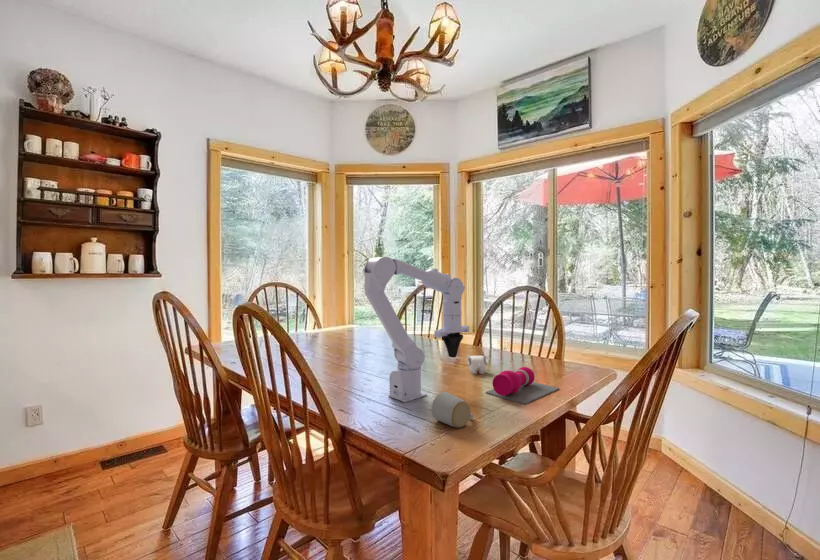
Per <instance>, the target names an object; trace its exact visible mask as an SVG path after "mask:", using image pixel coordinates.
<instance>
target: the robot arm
mask: <svg viewBox="0 0 820 560" xmlns="http://www.w3.org/2000/svg"><path fill="white" fill-rule="evenodd" d="M362 271H363V275H364V294H365V296H366V297H367V300H368V301H369V303H370V305H371V308H372V309H373V311H374V312H375V314H376V316H377V317H378V319H379V321H380V323H381V324H382V326H383V328H384V329H385V332H386V334H387V335H388V337H389V338H390V340H391V343H392V344H391V347H392V348H393V352H394V358H395V360H396V361H397V367H396V368H395V369H394V370H392V371H391V372H390V374H389V393H388V394H387V396H388V397H390V398H393V399H395V400H397V401H400V402H404V403H407V402H410V401H412V400H416V399H419V398H423V397H425V396H428V393H426V392H423V391H422V366H423V364H424V363H425V352H424V351H423V349H421V348H419V346H417V344H416V342H414V341H413V339H412V338H411V337H410V336H409V335H408V333H407V331H406V329H405V328H404V325H403V324H402V322H401V320H400V318H399V316H398V315H397V313H396V311H395V309H394V308H393V306H392V304H391V302H390V300H389V298H388V296H387V295H386V293H385V290H386V287H387V285H388V283H389V281H390V280H391V279H392V277H393V276H394V275H403V276H406V277H410V278H413V279H416V280H418V281H421V283H422V285H423V286H424V287H425V288H428V289H432V290H434V291H437V292H440V293H441V294H442V305H443V306H442V307H443V308H442V310H443V311H442V312H443V313H442V315H443V317H442V318H443V319H442V320H443V321H442V325H443V326H442V327H441V328H439V329H437V330H434V334H433V335H434V336H433V337H434V338H437V339H439V338H441V339H442V341H443V342H444V344H445V348H446V351H447V355H448V357H450V358H456V357H457V356H458V351H459V348H460V344H461V342H462V340H463V338H464V335H463V334H462V333H469V332H470V326H469V325H462V296H463V294H464V293H465V289H466V287H465V285H464V283H463V281H462V280H461V279H460V278H458V277H451V274H450V273H442V272H440V271H439V269H437V268H436V267H435V268H428V269H426V270H424V269H422V268H419V267H417V266H415V265H412V264H410V263H407V262H405V261H403V260H400V259H397V258H391V257H389V256H382V257H377V256H373V257H370V258H369V259H368V260H366V263H365V265H364V268H363V270H362Z"/></svg>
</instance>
